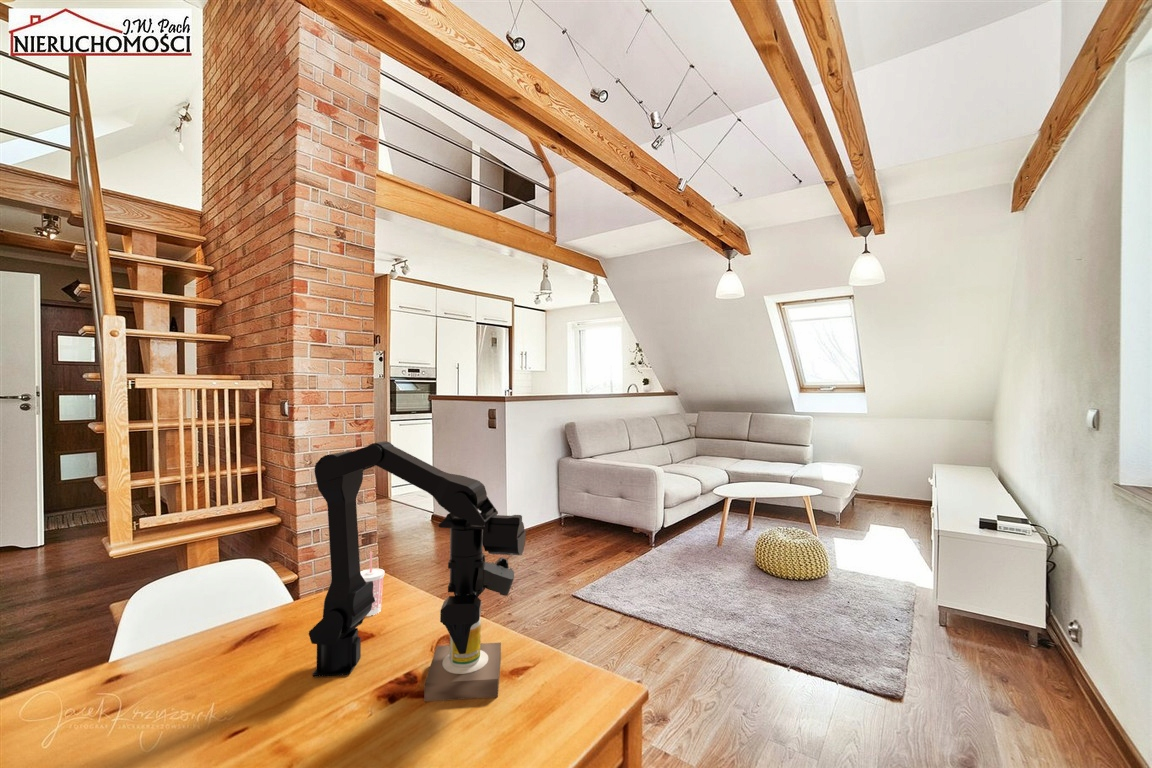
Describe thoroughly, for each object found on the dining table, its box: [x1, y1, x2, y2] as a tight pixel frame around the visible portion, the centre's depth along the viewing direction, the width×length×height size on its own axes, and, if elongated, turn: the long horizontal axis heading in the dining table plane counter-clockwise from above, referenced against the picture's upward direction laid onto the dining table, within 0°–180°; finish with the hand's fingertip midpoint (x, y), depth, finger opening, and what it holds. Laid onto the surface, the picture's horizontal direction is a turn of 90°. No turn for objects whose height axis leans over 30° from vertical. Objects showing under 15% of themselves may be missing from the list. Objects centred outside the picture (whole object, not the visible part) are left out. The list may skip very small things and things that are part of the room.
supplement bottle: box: [449, 618, 482, 668], centre depth 87 cm, size 5×5×10 cm
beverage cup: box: [360, 550, 386, 617], centre depth 113 cm, size 6×6×14 cm
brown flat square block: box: [423, 642, 502, 702], centre depth 87 cm, size 12×12×3 cm
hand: (465, 639), depth 87 cm, fingers open, 9 cm apart
